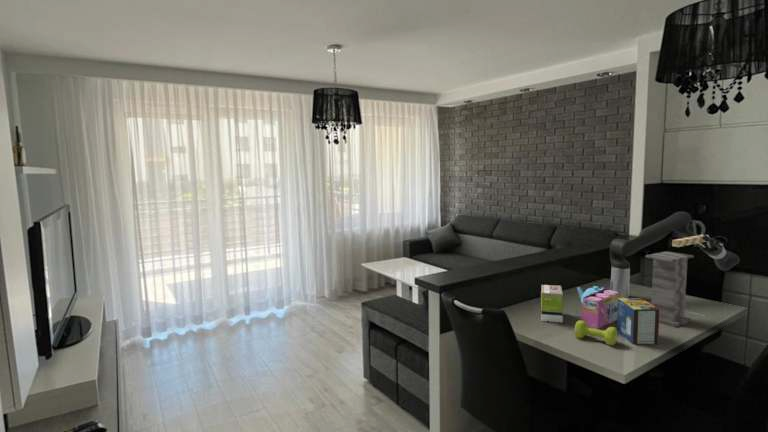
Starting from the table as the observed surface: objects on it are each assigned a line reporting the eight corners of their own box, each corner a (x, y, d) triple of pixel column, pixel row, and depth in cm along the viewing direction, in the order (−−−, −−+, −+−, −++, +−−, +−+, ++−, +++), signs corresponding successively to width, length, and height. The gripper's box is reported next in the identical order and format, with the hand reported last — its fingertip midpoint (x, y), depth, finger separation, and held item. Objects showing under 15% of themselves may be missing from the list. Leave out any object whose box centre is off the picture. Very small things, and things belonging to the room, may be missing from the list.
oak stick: (678, 247, 202) (679, 240, 202) (672, 246, 205) (672, 240, 204) (708, 241, 215) (709, 235, 214) (702, 240, 217) (702, 234, 217)
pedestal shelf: (670, 328, 195) (674, 260, 192) (640, 319, 207) (643, 255, 204) (692, 321, 203) (696, 255, 200) (661, 312, 216) (664, 250, 212)
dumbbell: (572, 338, 187) (573, 322, 186) (578, 333, 193) (579, 317, 192) (613, 348, 176) (614, 331, 175) (618, 342, 181) (619, 326, 181)
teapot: (575, 301, 237) (575, 282, 236) (603, 301, 236) (603, 282, 235) (585, 310, 222) (586, 290, 221) (615, 310, 221) (616, 290, 219)
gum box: (605, 313, 217) (606, 287, 215) (622, 317, 210) (623, 291, 209) (581, 324, 203) (582, 297, 201) (598, 329, 196) (599, 301, 195)
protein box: (640, 331, 193) (641, 297, 192) (658, 345, 178) (660, 309, 176) (616, 330, 194) (617, 297, 193) (632, 344, 179) (633, 308, 177)
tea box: (540, 311, 222) (541, 283, 220) (561, 313, 219) (562, 285, 217) (540, 321, 208) (541, 291, 206) (563, 323, 205) (563, 293, 203)
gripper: (701, 241, 228) (686, 227, 220) (732, 245, 215) (718, 230, 207) (697, 253, 227) (682, 240, 219) (728, 258, 214) (713, 244, 206)
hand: (699, 236), depth 213 cm, fingers closed on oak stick, 3 cm apart
